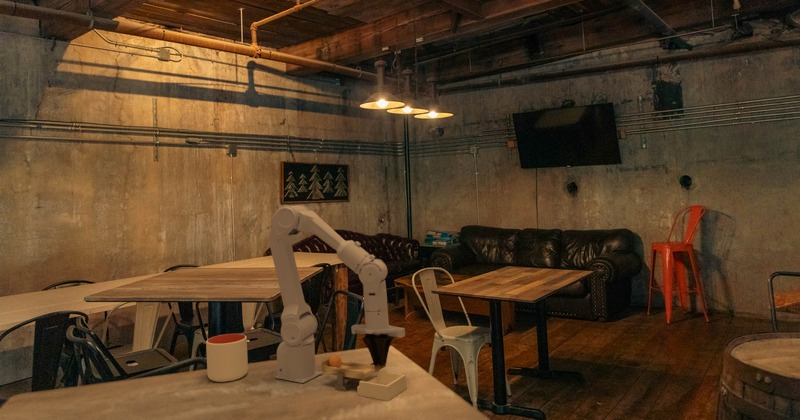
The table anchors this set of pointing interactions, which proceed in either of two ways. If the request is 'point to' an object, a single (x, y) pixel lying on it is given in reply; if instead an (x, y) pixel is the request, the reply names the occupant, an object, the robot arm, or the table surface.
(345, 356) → the table surface
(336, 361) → the ball
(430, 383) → the table surface
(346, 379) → the pivot bracket
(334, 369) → the catapult lever
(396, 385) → the tray
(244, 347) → the cup
